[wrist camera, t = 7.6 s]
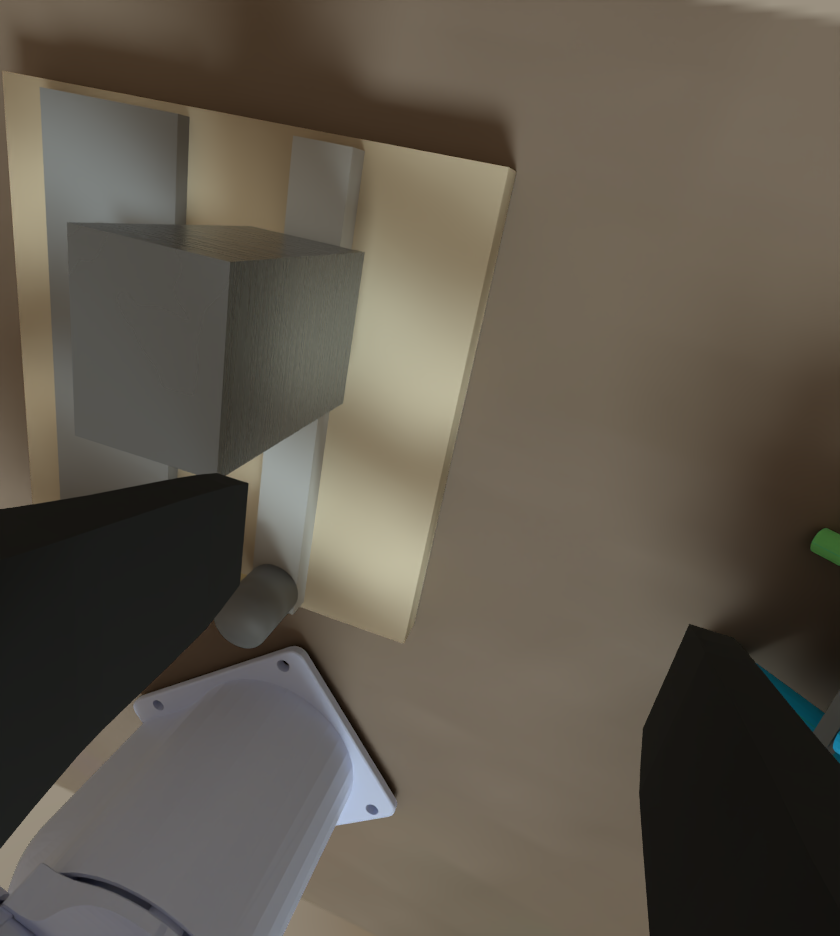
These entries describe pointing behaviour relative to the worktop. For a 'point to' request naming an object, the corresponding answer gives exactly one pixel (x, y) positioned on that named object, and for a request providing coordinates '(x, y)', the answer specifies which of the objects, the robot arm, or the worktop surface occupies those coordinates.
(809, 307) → the worktop surface
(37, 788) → the robot arm
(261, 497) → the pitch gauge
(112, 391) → the grey rectangular block
